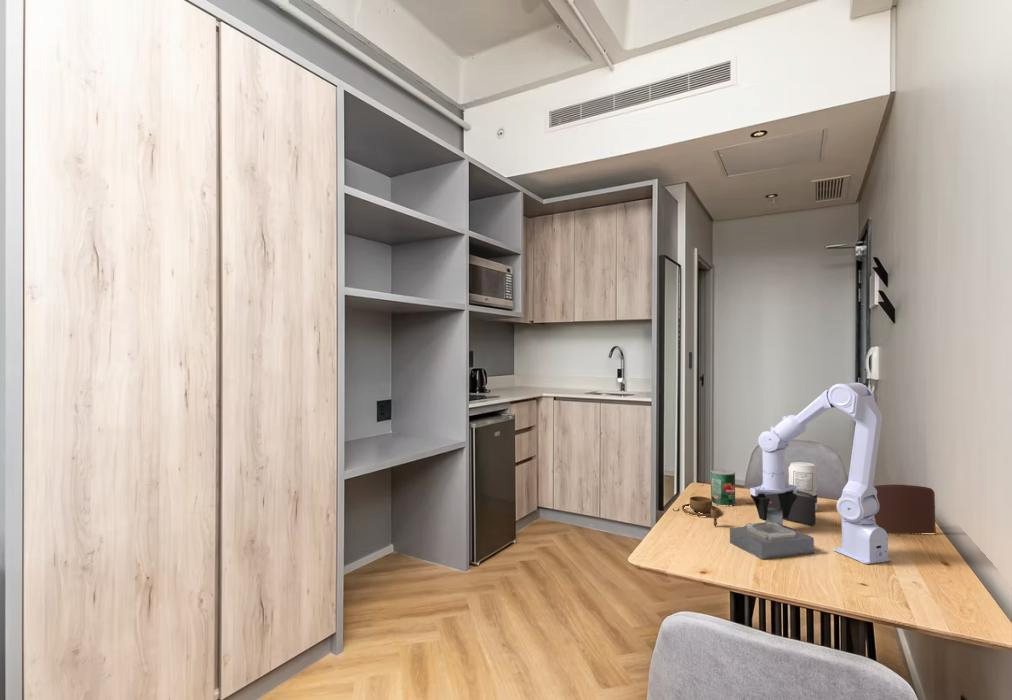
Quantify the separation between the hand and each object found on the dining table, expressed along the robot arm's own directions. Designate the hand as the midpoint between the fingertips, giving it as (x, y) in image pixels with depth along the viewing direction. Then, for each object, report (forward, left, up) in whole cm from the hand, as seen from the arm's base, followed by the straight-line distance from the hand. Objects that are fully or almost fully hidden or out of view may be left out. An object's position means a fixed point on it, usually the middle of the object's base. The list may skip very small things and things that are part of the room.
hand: (773, 518), depth 150 cm
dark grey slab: (+7, -11, -4) cm, 14 cm away
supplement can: (+15, -25, -4) cm, 29 cm away
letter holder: (-7, -34, -4) cm, 35 cm away
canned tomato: (+28, -4, -4) cm, 28 cm away
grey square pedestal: (-9, +11, -3) cm, 15 cm away
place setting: (+18, +12, -4) cm, 23 cm away
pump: (0, 0, -4) cm, 4 cm away
